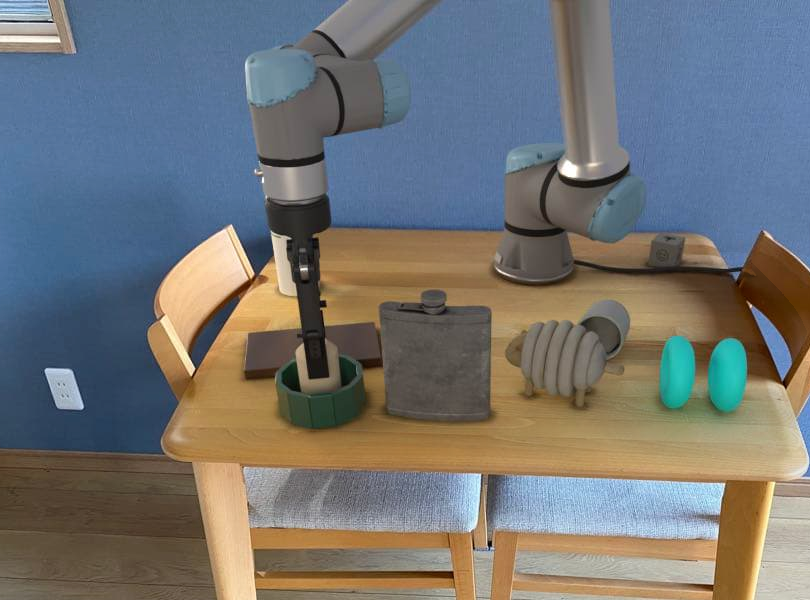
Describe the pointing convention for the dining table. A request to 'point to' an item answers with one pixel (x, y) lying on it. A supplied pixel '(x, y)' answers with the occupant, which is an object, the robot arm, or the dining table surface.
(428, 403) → the flask
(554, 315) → the dining table surface
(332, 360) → the candle
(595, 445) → the dining table surface
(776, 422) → the dining table surface
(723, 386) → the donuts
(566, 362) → the toy sheep
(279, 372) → the segmented bracelet
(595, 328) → the ceramic mug
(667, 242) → the grey engraved cube
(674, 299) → the dining table surface
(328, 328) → the walnut board
